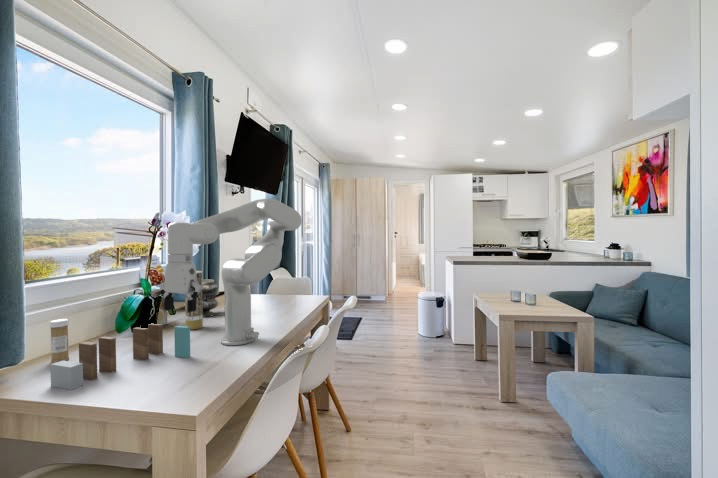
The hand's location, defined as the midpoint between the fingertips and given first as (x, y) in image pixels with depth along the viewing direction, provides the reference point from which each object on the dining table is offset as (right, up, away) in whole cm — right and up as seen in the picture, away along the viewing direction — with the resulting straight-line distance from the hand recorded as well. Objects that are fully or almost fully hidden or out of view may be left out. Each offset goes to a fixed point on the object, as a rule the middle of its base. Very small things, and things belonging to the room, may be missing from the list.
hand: (180, 310), depth 116 cm
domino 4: (-11, -16, +4) cm, 20 cm away
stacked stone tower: (-19, -16, +62) cm, 67 cm away
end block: (-20, -16, -22) cm, 33 cm away
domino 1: (-18, -16, -16) cm, 29 cm away
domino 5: (0, -16, +1) cm, 16 cm away
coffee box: (-33, -16, +41) cm, 55 cm away
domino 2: (-16, -16, -11) cm, 25 cm away
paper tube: (-13, -16, +37) cm, 42 cm away
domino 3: (-13, -16, -1) cm, 20 cm away
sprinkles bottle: (-38, -16, -2) cm, 42 cm away
